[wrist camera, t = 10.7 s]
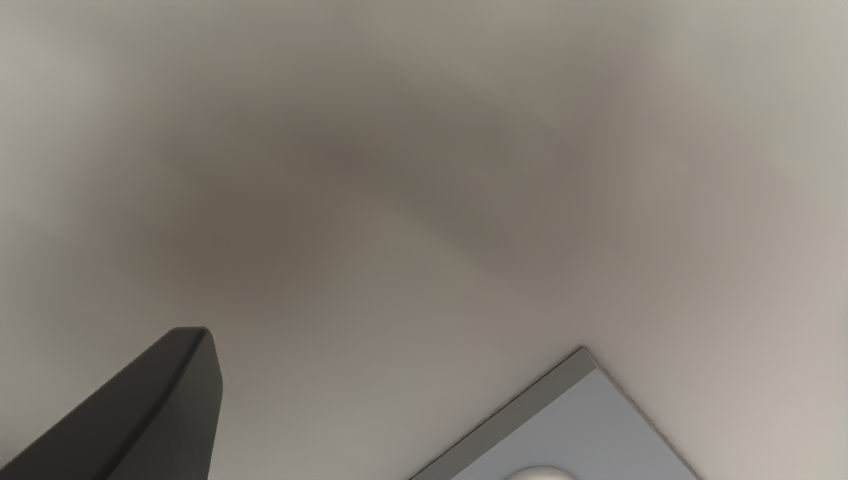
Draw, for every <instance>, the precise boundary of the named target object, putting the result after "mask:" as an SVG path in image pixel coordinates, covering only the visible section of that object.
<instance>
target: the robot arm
mask: <svg viewBox="0 0 848 480" xmlns="http://www.w3.org/2000/svg"><path fill="white" fill-rule="evenodd" d="M222 392H223V382H222V375H221V371H220V366H219V362H218V357H217V353H216V349H215V344H214V340H213V336H212V334H211V332H210V330H209V329H207V328H205V327H176V328H173V329H172V330H170V331H169V332H167V333H166V334H165V335H164V336H163V337H161V338H160V339H159V340H158V341H156V342H155V343H154V344H153V345H152V346H150V347H149V348H148V349H147V350H145V351H144V352H143V353H142V354H140V355H139V356H138V357H137V358H136V359H134V360H133V361H132V362H131V363H129V364H128V365H127V366H126V367H125V368H123V369H122V370H121V371H120V372H118V373H117V374H116V375H115V376H114V377H112V378H111V379H110V380H109V381H107V382H106V383H105V384H104V385H103V386H101V387H100V388H99V389H98V390H96V391H95V392H94V393H93V394H92V395H90V396H89V397H88V398H87V399H85V400H84V401H83V402H82V403H81V404H79V405H78V406H77V407H76V408H74V409H73V410H72V411H71V412H70V413H68V414H67V415H66V416H65V417H63V418H62V419H61V420H60V421H59V422H57V423H56V424H55V425H54V426H52V427H51V428H50V429H49V430H48V431H46V432H45V433H44V434H43V435H41V436H40V437H39V438H38V439H37V440H35V441H34V442H33V443H32V444H30V445H29V446H28V447H27V448H25V449H24V450H23V451H22V452H21V453H19V454H18V455H17V456H16V457H14V458H13V459H12V460H11V461H10V462H8V463H7V464H6V465H5V466H3V467H2V468H1V469H0V480H207V479H208V473H209V467H210V462H211V456H212V451H213V445H214V439H215V434H216V428H217V423H218V417H219V411H220V406H221V400H222Z"/></svg>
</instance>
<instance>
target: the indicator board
mask: <svg viewBox="0 0 848 480" xmlns="http://www.w3.org/2000/svg"><path fill="white" fill-rule="evenodd" d="M411 480H702V479H701V478H700V477H699V476H698V475H697V474H696V472H695V471H694V470H693V469H692V468H691V467H690V466H689V465H688V463H687V462H686V461H685V460H684V459H683V458H682V457H681V455H680V454H679V453H678V452H677V451H676V450H675V449H674V448H673V446H672V445H671V444H670V443H669V442H668V441H667V440H666V439H665V437H664V436H663V435H662V434H661V433H660V432H659V431H658V430H657V428H656V427H655V426H654V425H653V424H652V423H651V422H650V420H649V419H648V418H647V417H646V416H645V415H644V414H643V413H642V411H641V410H640V409H639V408H638V407H637V406H636V405H635V404H634V402H633V401H632V400H631V399H630V398H629V397H628V396H627V395H626V393H625V392H624V391H623V390H622V389H621V388H620V387H619V386H618V384H617V383H616V382H615V381H614V380H613V379H612V378H611V376H610V375H609V374H608V373H607V372H606V371H605V370H604V369H603V367H602V366H601V365H600V364H599V363H598V362H597V361H596V360H595V358H594V357H593V356H592V355H591V354H590V353H589V352H588V351H587V349H586V348H585V347H582V348H581V349H580V350H578V351H577V352H576V353H574V354H573V355H572V356H571V357H569V358H568V359H567V360H565V361H564V362H563V363H562V364H560V365H559V366H558V367H556V368H555V369H554V370H552V371H551V372H550V373H549V374H547V375H546V376H545V377H543V378H542V379H541V380H539V381H538V382H537V383H536V384H534V385H533V386H532V387H530V388H529V389H528V390H527V391H525V392H524V393H523V394H521V395H520V396H519V397H517V398H516V399H515V400H514V401H512V402H511V403H510V404H508V405H507V406H506V407H504V408H503V409H502V410H501V411H499V412H498V413H497V414H495V415H494V416H493V417H492V418H490V419H489V420H488V421H486V422H485V423H484V424H482V425H481V426H480V427H479V428H477V429H476V430H475V431H473V432H472V433H471V434H469V435H468V436H467V437H466V438H464V439H463V440H462V441H460V442H459V443H458V444H457V445H455V446H454V447H453V448H451V449H450V450H449V451H447V452H446V453H445V454H444V455H442V456H441V457H440V458H438V459H437V460H436V461H435V462H433V463H432V464H431V465H429V466H428V467H427V468H425V469H424V470H423V471H422V472H420V473H419V474H418V475H416V476H415V477H414V478H412V479H411Z"/></svg>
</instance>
